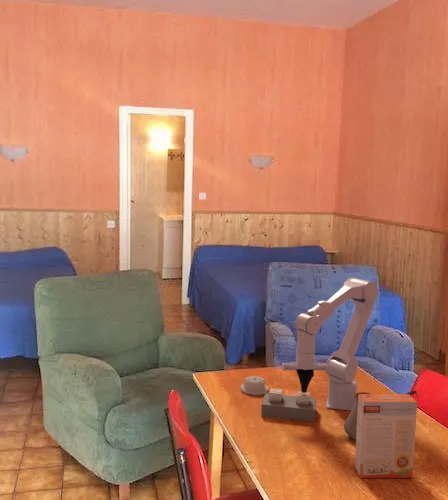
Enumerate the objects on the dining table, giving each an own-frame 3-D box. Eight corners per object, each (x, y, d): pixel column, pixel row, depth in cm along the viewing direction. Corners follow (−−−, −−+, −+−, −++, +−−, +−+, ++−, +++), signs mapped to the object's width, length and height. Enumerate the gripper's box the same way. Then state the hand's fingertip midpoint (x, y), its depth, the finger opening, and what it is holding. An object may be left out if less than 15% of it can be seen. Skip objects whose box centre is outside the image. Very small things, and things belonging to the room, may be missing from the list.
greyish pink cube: (282, 400, 189) (282, 389, 188) (281, 404, 185) (281, 393, 184) (270, 399, 189) (270, 388, 189) (268, 403, 185) (269, 392, 185)
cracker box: (404, 467, 153) (410, 393, 150) (412, 479, 147) (418, 402, 144) (353, 467, 153) (357, 392, 150) (359, 478, 147) (364, 401, 144)
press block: (315, 409, 190) (316, 398, 189) (314, 422, 180) (315, 410, 180) (265, 404, 193) (265, 393, 193) (261, 416, 183) (261, 404, 183)
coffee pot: (347, 445, 165) (350, 395, 163) (340, 428, 176) (342, 381, 174) (421, 448, 165) (425, 398, 163) (409, 430, 176) (412, 384, 174)
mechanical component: (240, 395, 201) (268, 396, 201) (240, 383, 201) (269, 384, 200) (240, 385, 211) (267, 386, 211) (240, 373, 210) (267, 374, 210)
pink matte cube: (309, 403, 187) (310, 392, 186) (309, 407, 183) (309, 396, 183) (297, 401, 188) (298, 391, 187) (296, 406, 184) (297, 395, 183)
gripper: (325, 347, 187) (323, 387, 189) (281, 346, 187) (279, 386, 188) (330, 354, 180) (327, 395, 182) (284, 353, 180) (283, 394, 181)
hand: (303, 391), depth 185 cm, fingers closed
